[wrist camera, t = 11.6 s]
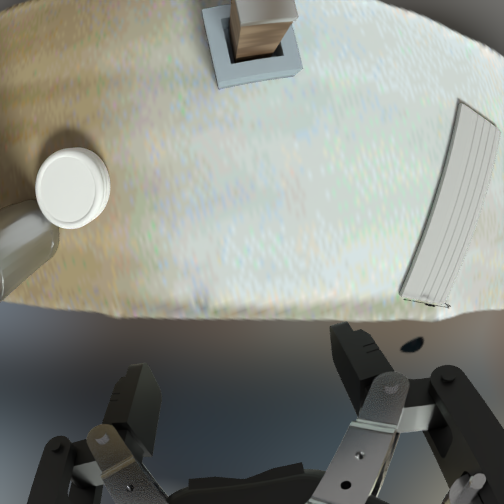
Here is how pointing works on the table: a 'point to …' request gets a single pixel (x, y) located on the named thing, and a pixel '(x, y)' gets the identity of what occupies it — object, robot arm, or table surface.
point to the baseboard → (454, 209)
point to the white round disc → (72, 187)
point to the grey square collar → (234, 74)
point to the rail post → (259, 27)
